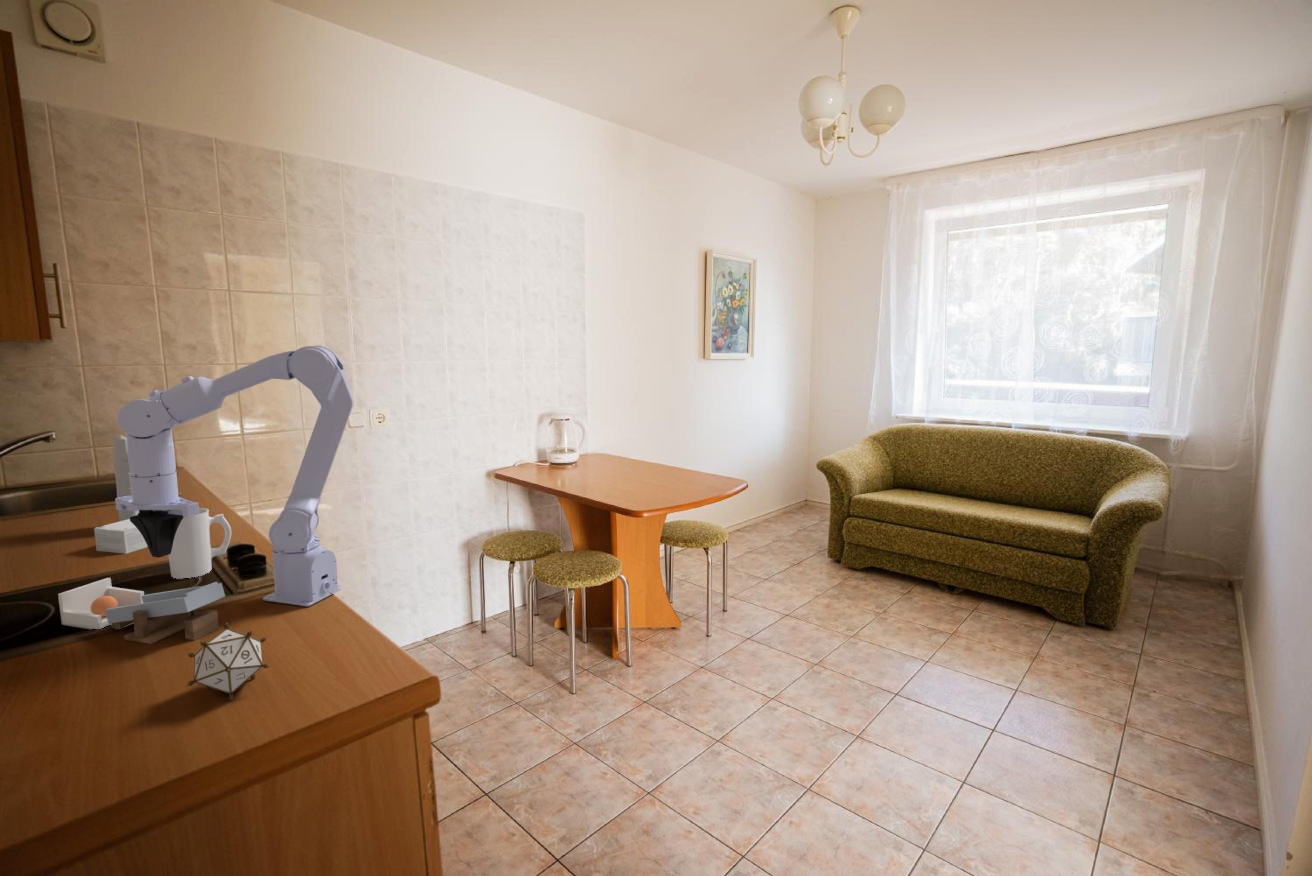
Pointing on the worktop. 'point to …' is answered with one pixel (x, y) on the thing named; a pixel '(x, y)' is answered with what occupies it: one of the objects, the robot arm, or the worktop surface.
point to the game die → (227, 661)
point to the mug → (196, 545)
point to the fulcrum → (170, 625)
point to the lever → (168, 602)
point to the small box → (119, 537)
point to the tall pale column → (122, 474)
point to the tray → (80, 600)
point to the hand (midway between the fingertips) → (161, 555)
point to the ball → (103, 605)
